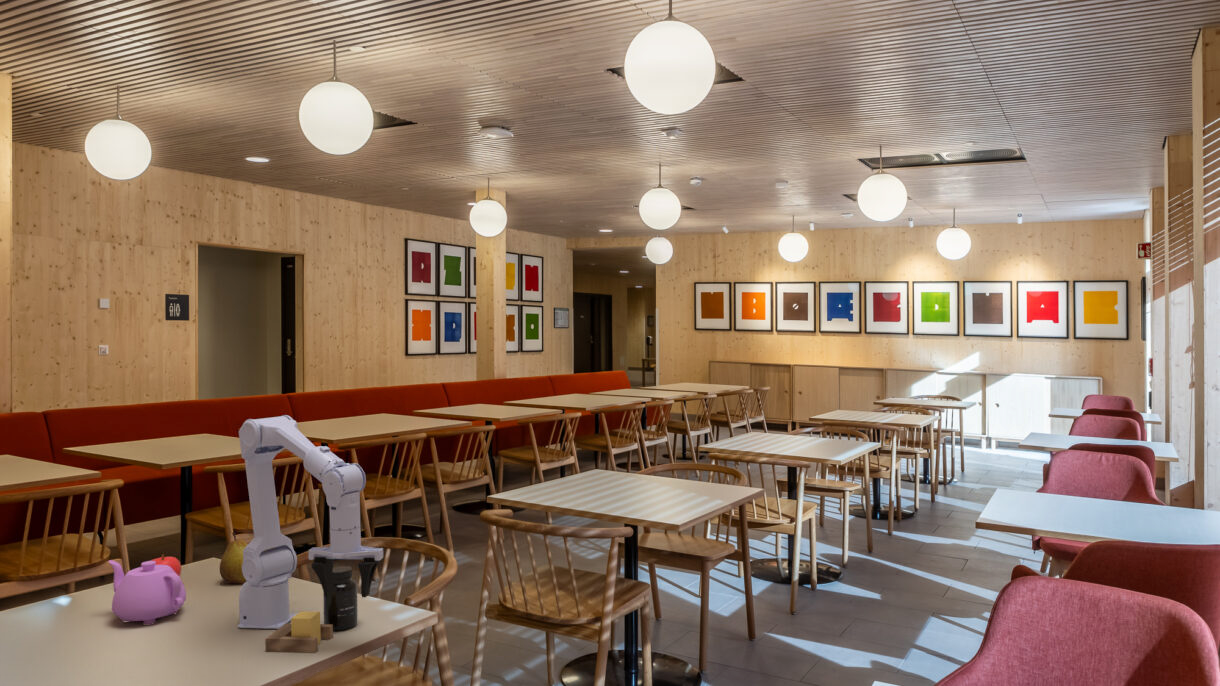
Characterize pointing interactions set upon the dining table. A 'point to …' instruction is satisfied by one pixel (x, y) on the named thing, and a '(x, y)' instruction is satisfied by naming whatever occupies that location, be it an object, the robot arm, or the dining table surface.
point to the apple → (169, 563)
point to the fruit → (233, 562)
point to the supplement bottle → (341, 600)
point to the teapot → (146, 592)
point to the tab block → (306, 625)
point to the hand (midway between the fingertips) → (347, 595)
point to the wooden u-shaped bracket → (295, 640)
